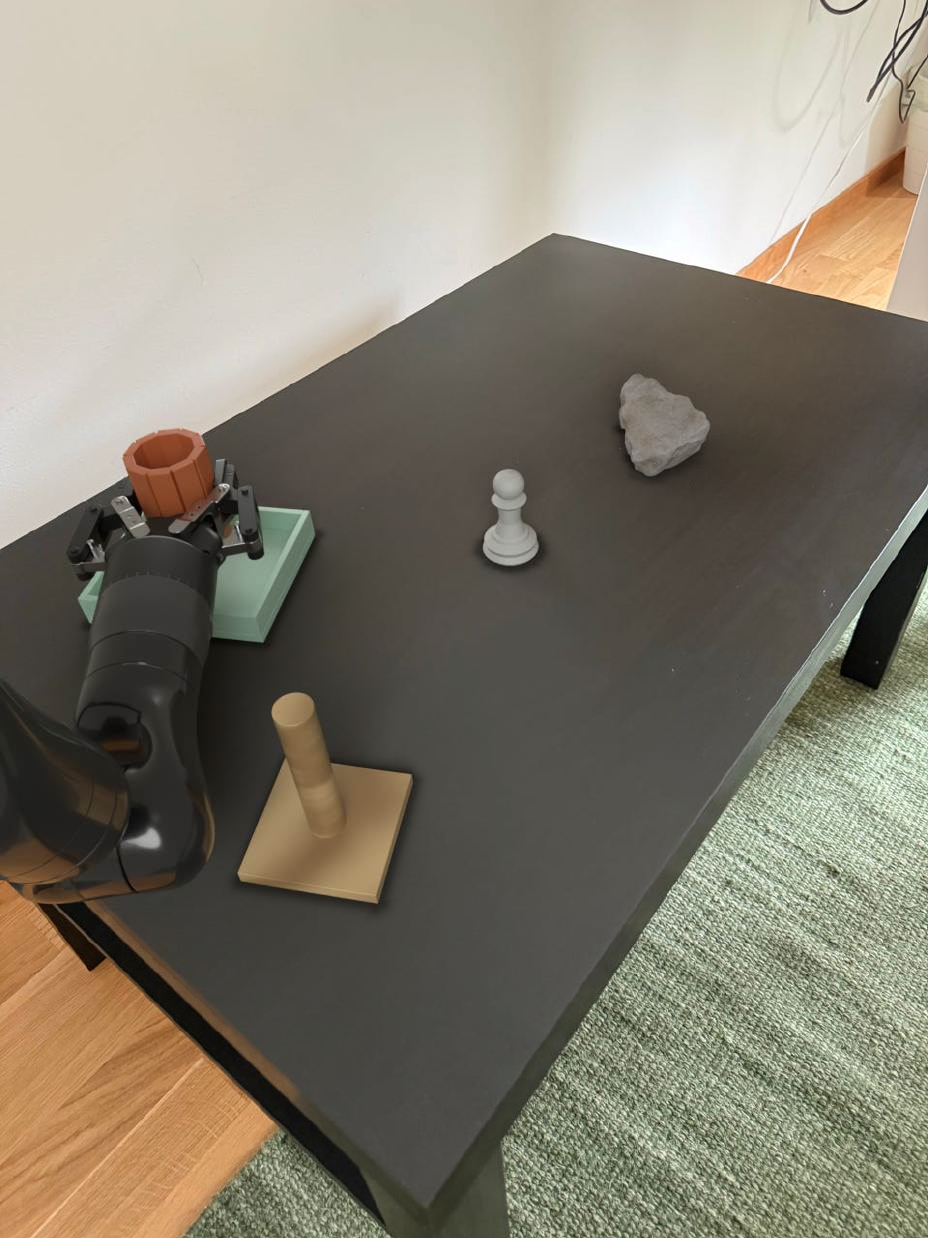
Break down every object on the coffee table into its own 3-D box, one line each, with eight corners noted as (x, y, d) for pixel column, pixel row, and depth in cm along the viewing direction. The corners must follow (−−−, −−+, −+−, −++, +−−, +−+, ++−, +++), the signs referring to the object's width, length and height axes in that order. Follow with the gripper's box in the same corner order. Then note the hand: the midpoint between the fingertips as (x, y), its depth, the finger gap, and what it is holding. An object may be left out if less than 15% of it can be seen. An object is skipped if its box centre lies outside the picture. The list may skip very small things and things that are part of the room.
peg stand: (240, 881, 58) (185, 763, 49) (288, 765, 64) (246, 642, 56) (377, 904, 57) (346, 786, 48) (413, 782, 63) (391, 658, 54)
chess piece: (502, 575, 77) (498, 498, 71) (472, 544, 80) (467, 468, 74) (549, 553, 78) (549, 476, 73) (518, 524, 81) (516, 448, 75)
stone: (585, 436, 90) (587, 383, 86) (655, 411, 92) (660, 358, 88) (643, 489, 83) (648, 435, 79) (716, 462, 86) (725, 407, 82)
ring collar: (146, 564, 74) (108, 472, 68) (178, 515, 79) (145, 425, 72) (215, 570, 73) (183, 478, 67) (244, 521, 77) (216, 429, 71)
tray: (89, 623, 76) (77, 599, 74) (158, 521, 85) (148, 497, 83) (263, 643, 73) (255, 618, 71) (315, 535, 82) (310, 510, 80)
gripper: (248, 564, 60) (260, 422, 72) (23, 592, 59) (73, 444, 71) (273, 644, 65) (281, 499, 77) (67, 670, 65) (107, 521, 76)
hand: (181, 474), depth 74 cm, fingers closed on ring collar, 6 cm apart
